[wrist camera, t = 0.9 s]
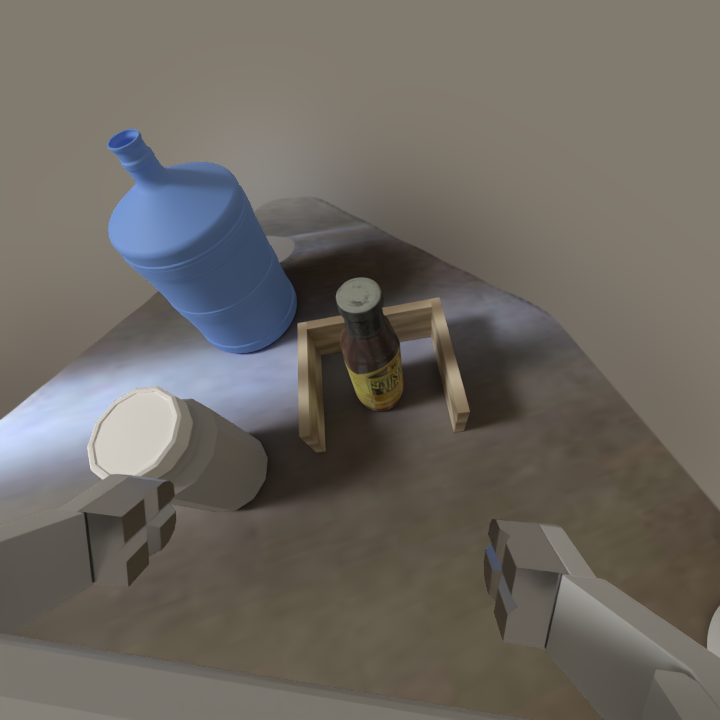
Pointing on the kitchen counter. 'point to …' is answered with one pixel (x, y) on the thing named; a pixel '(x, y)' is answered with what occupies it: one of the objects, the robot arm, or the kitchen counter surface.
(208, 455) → the jar
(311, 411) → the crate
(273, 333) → the water jug
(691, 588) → the kitchen counter surface
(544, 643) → the robot arm
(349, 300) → the sauce bottle
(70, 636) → the kitchen counter surface
